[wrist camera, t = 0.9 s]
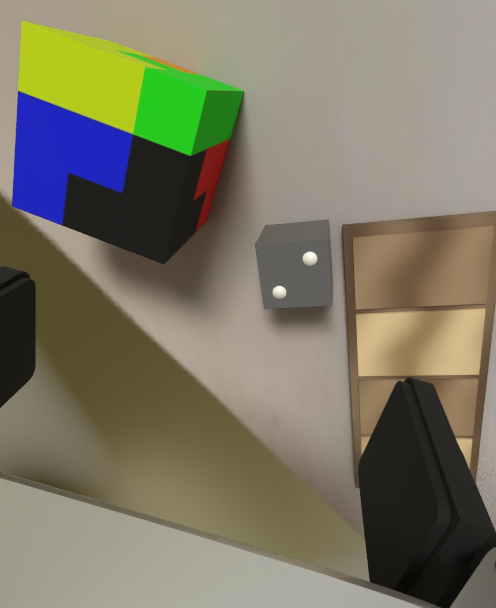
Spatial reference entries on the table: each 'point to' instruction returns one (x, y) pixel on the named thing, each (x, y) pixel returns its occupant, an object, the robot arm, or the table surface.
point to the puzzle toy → (117, 141)
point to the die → (295, 265)
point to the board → (421, 317)
